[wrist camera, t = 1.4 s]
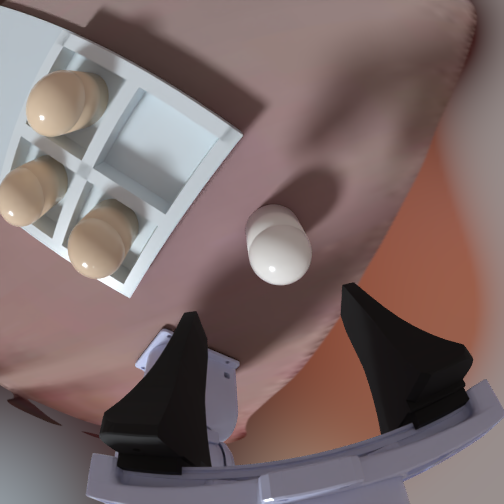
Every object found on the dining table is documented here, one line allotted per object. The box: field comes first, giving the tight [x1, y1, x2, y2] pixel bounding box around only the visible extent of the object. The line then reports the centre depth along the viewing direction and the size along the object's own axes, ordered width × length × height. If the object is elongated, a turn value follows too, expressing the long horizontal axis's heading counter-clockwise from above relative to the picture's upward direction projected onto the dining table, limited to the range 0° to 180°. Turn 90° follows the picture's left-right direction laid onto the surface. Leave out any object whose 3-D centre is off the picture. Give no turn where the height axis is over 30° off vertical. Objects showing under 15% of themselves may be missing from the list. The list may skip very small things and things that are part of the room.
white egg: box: [245, 204, 312, 285], centre depth 19 cm, size 4×4×6 cm
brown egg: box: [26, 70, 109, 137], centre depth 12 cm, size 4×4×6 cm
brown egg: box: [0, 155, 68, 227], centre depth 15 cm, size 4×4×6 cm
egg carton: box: [0, 6, 243, 298], centre depth 14 cm, size 30×15×2 cm, turn 52°
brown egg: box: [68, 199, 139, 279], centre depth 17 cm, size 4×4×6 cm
